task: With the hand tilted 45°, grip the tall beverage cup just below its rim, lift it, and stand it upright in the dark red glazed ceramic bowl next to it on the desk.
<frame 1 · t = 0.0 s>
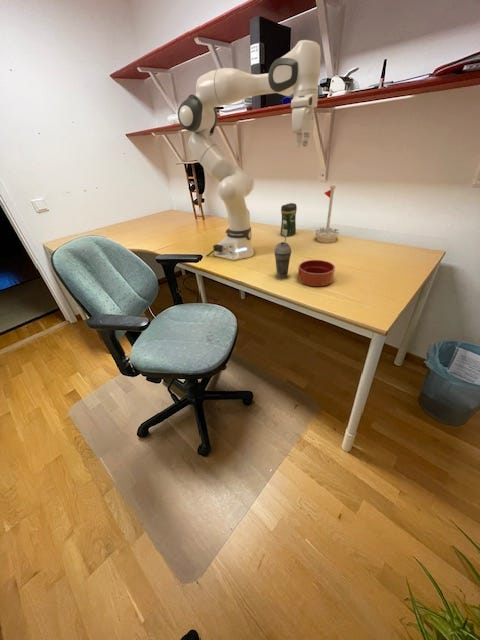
hand: (302, 146, 103), 48 cm above the table, tool pointing down, fingers open, 8 cm apart
flag stand: (326, 239, 152), on the table
coffee jar: (287, 234, 165), on the table
bowl: (315, 279, 111), on the table
beverage cup: (282, 277, 115), on the table
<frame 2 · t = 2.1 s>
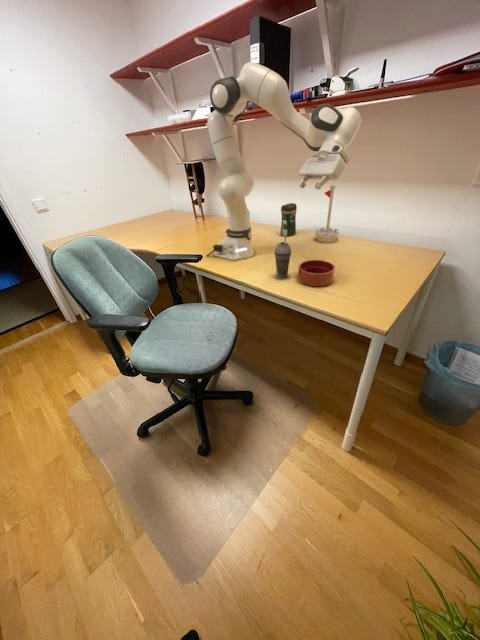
hand: (308, 187, 101), 35 cm above the table, tool tilted 40°, fingers open, 8 cm apart
nothing on the table moved.
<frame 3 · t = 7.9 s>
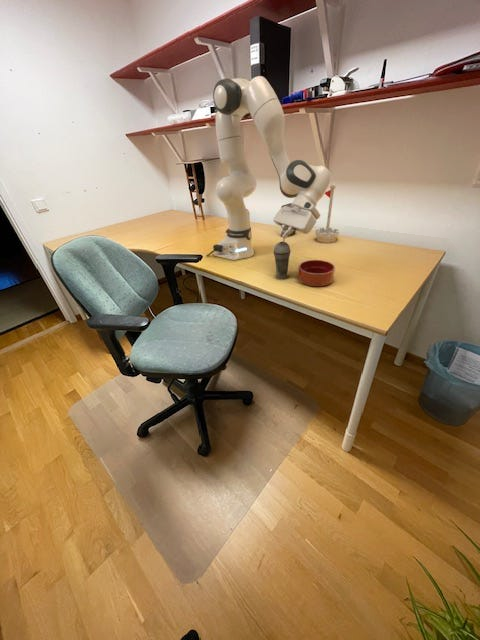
hand: (282, 236, 105), 18 cm above the table, tool tilted 45°, fingers closed on beverage cup
beverage cup: (282, 276, 115), on the table, touching gripper
everything else where it was.
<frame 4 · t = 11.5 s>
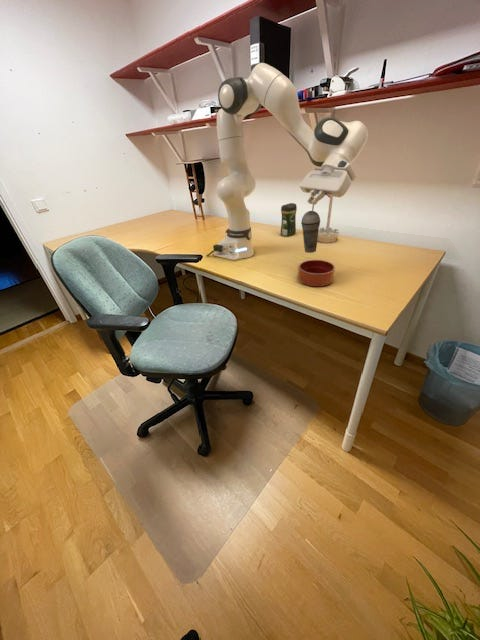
hand: (311, 203, 94), 31 cm above the table, tool tilted 45°, fingers closed on beverage cup
beverage cup: (310, 251, 106), point 12 cm above the table, touching gripper
everything else where it was.
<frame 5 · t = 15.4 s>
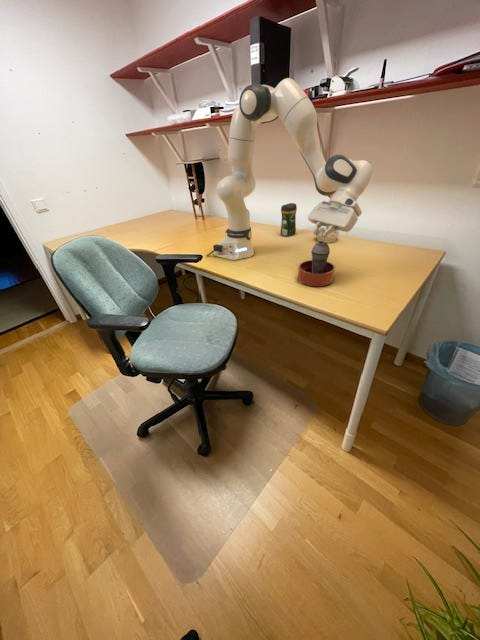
hand: (318, 235, 100), 19 cm above the table, tool tilted 45°, fingers open, 3 cm apart
beverage cup: (317, 277, 111), resting on bowl
everything else where it was.
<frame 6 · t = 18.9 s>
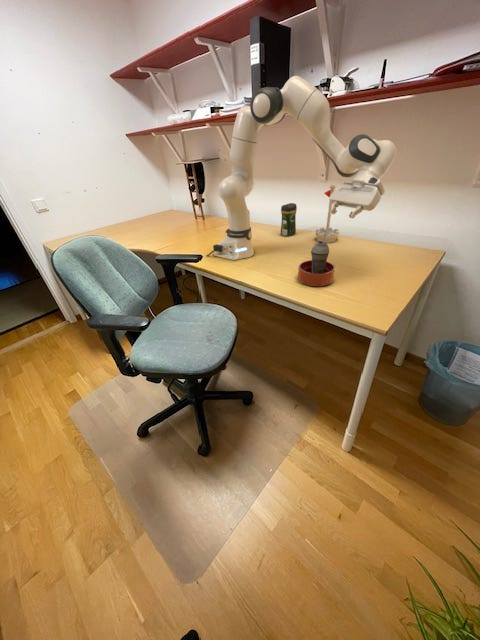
hand: (341, 215, 101), 25 cm above the table, tool tilted 45°, fingers open, 8 cm apart
nothing on the table moved.
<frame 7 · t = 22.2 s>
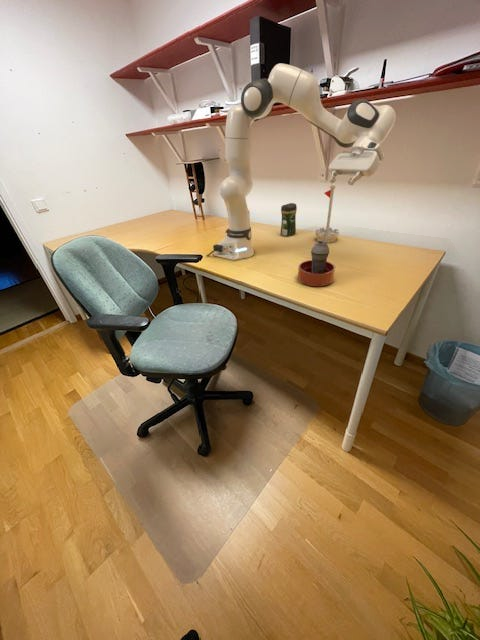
hand: (340, 183, 100), 35 cm above the table, tool tilted 45°, fingers open, 8 cm apart
nothing on the table moved.
at the end: beverage cup inside the target area in the bowl (1.2 cm from its centre), point 0.4 cm above the bowl's base; beverage cup tilted 0°; the gripper is holding nothing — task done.
